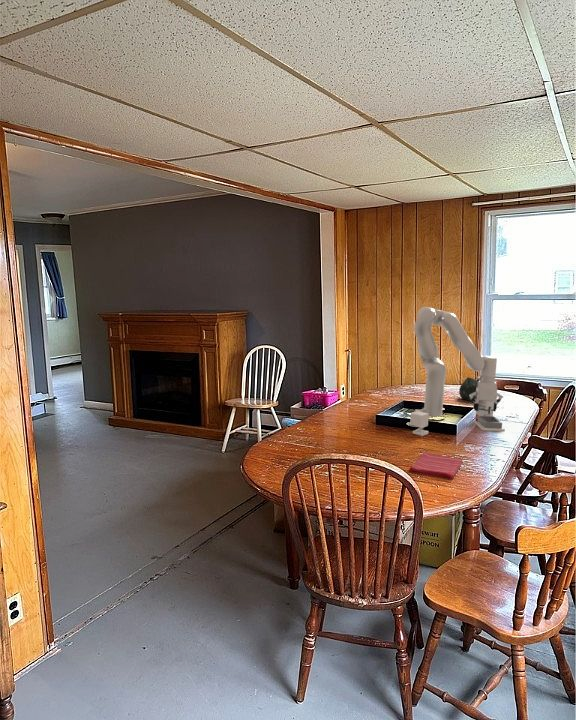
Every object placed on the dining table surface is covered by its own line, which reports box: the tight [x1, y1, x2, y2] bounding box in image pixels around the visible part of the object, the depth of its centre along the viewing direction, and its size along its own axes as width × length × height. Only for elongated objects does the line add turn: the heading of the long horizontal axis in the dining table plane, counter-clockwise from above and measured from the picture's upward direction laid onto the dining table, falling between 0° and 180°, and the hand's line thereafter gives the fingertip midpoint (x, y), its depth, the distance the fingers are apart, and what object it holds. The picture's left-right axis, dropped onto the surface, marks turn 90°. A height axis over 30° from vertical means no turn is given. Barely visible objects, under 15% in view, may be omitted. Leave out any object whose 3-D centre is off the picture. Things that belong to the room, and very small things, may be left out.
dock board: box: [474, 415, 506, 432], centre depth 275 cm, size 11×13×4 cm
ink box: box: [474, 400, 494, 420], centre depth 286 cm, size 8×5×12 cm, turn 17°
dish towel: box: [408, 451, 463, 481], centre depth 215 cm, size 17×24×3 cm
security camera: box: [409, 411, 429, 437], centre depth 260 cm, size 6×7×10 cm
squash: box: [458, 376, 479, 402], centre depth 334 cm, size 14×15×15 cm
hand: (484, 410), depth 287 cm, fingers open, 9 cm apart
